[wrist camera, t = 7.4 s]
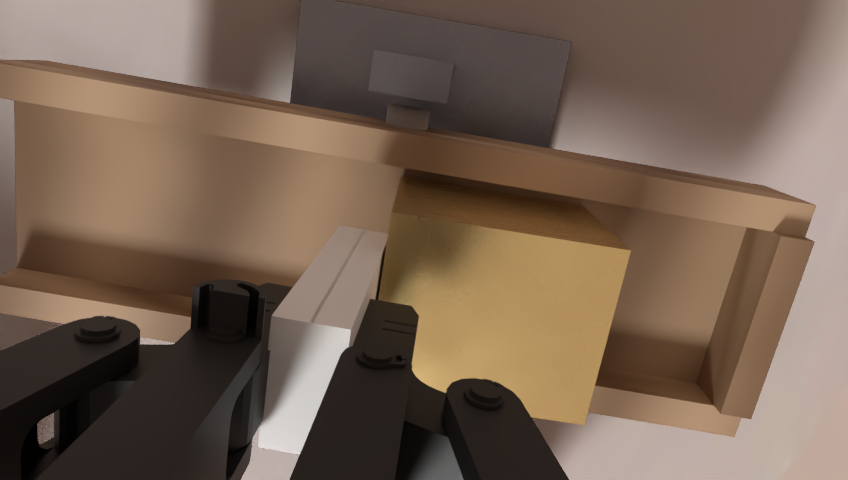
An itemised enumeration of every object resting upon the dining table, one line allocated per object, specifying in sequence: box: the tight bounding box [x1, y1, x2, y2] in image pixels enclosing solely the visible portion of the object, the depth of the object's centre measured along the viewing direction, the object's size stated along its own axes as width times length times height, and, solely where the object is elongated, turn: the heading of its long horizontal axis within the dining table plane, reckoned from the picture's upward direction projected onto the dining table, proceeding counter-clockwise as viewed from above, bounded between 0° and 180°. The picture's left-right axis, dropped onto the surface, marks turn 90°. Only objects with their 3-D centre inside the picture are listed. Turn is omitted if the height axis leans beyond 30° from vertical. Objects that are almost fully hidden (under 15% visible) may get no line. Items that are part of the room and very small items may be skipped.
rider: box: [378, 176, 631, 425], centre depth 18 cm, size 6×5×5 cm
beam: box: [0, 60, 816, 437], centre depth 22 cm, size 25×9×7 cm, turn 80°
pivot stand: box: [290, 0, 572, 148], centre depth 25 cm, size 12×16×10 cm
